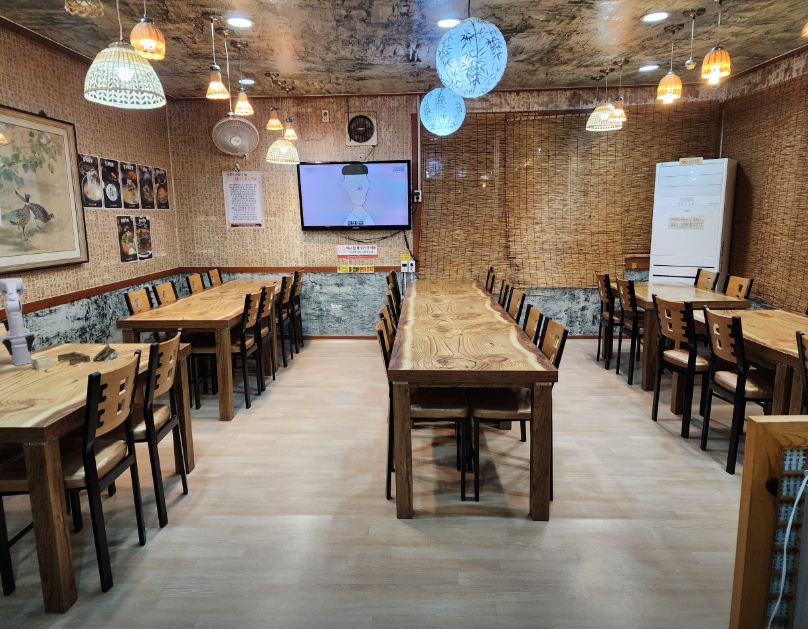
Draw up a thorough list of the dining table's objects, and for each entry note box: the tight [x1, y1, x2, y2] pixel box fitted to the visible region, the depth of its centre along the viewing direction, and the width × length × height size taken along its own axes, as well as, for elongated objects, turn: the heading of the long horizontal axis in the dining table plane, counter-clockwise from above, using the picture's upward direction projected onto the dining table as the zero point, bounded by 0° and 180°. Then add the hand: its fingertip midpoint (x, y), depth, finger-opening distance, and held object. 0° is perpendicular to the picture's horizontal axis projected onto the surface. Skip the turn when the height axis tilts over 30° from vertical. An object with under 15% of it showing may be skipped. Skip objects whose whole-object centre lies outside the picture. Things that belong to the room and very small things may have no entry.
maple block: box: [31, 355, 54, 371], centre depth 258 cm, size 8×6×5 cm
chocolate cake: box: [92, 344, 119, 362], centre depth 273 cm, size 10×7×12 cm
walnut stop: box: [57, 351, 91, 366], centre depth 270 cm, size 18×8×3 cm, turn 54°
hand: (20, 353), depth 250 cm, fingers open, 7 cm apart
